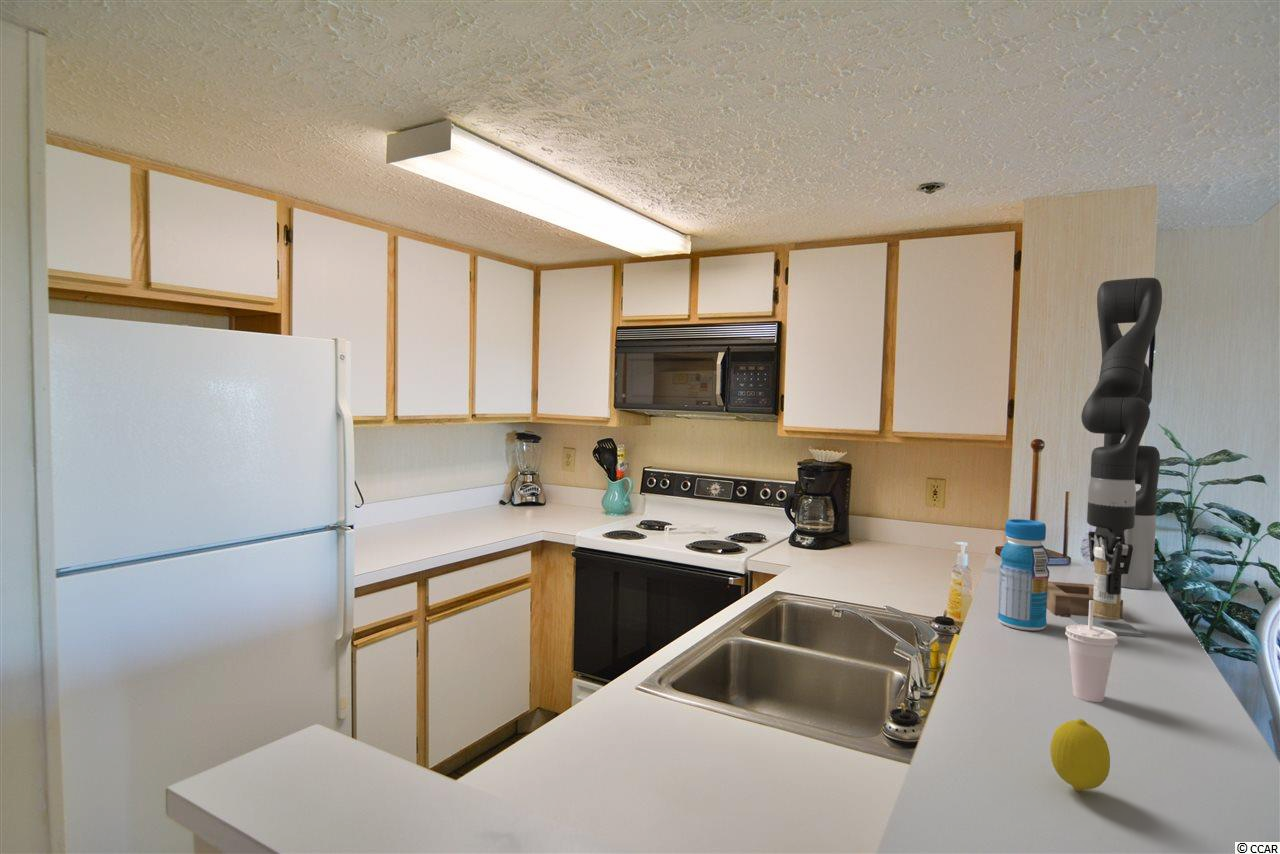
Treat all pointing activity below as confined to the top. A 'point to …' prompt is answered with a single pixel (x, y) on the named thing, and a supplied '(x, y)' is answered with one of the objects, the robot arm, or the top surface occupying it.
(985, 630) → the top surface
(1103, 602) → the sprinkles bottle
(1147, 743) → the top surface
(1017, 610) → the beverage bottle
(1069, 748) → the lemon
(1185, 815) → the top surface
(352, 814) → the top surface
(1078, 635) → the smoothie
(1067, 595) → the walnut socket block
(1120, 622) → the slate pad
